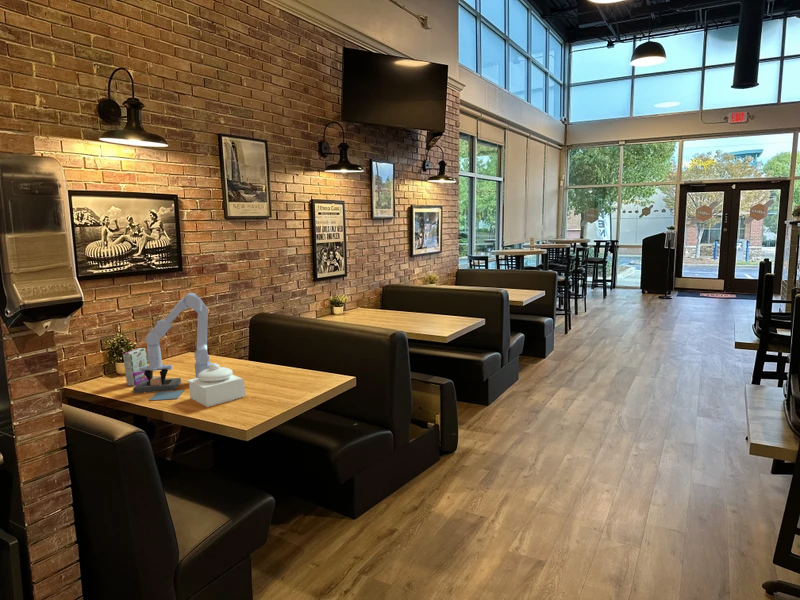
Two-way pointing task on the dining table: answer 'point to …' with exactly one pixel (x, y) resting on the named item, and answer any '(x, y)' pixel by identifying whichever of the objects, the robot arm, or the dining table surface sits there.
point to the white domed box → (216, 386)
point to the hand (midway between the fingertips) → (157, 385)
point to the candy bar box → (135, 366)
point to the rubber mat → (166, 395)
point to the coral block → (156, 380)
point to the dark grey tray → (157, 386)
